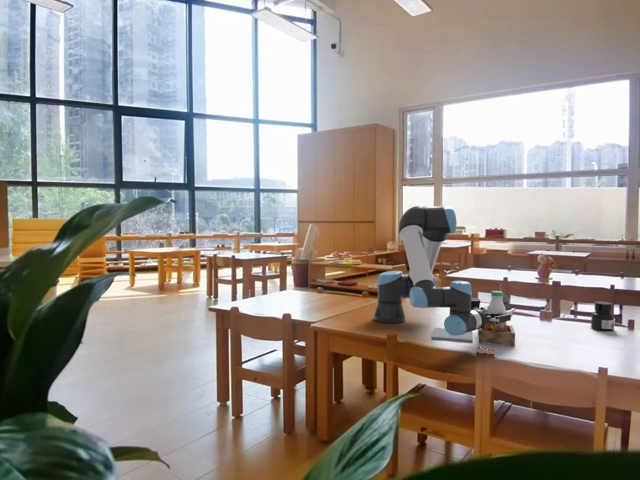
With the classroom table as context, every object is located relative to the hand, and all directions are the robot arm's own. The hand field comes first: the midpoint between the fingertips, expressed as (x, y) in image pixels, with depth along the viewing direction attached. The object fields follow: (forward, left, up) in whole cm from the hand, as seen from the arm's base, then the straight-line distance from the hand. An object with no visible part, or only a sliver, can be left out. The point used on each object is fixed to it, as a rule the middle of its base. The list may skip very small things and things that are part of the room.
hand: (501, 311), depth 195 cm
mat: (-19, -3, -11) cm, 23 cm away
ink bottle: (+45, +31, -11) cm, 55 cm away
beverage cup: (+1, +21, -11) cm, 24 cm away
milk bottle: (-2, -4, -11) cm, 12 cm away
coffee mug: (-13, +31, -11) cm, 35 cm away
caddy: (-2, -4, -11) cm, 12 cm away
